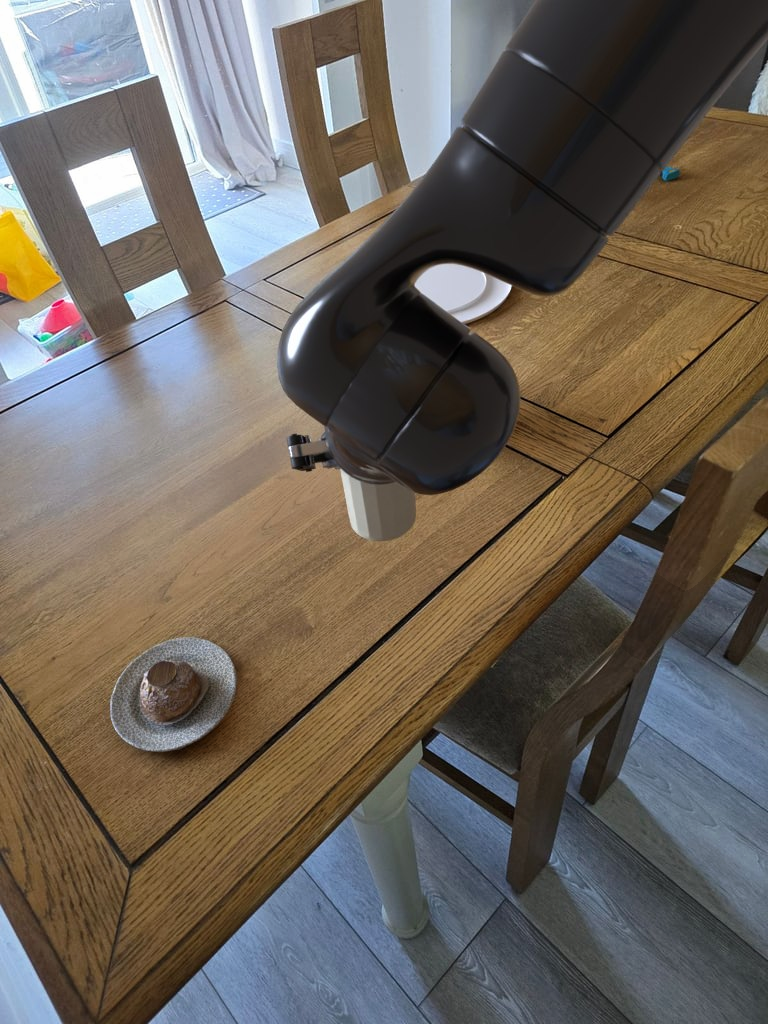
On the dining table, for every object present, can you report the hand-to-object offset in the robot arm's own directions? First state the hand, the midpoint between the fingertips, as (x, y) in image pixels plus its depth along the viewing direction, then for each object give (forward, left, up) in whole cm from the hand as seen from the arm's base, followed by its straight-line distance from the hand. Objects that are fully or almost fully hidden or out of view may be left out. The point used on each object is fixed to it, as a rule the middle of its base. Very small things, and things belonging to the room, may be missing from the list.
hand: (372, 448), depth 63 cm
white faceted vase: (-1, +2, -7) cm, 8 cm away
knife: (-22, -111, -18) cm, 115 cm away
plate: (+4, -61, -17) cm, 64 cm away
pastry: (+17, +18, -17) cm, 30 cm away
